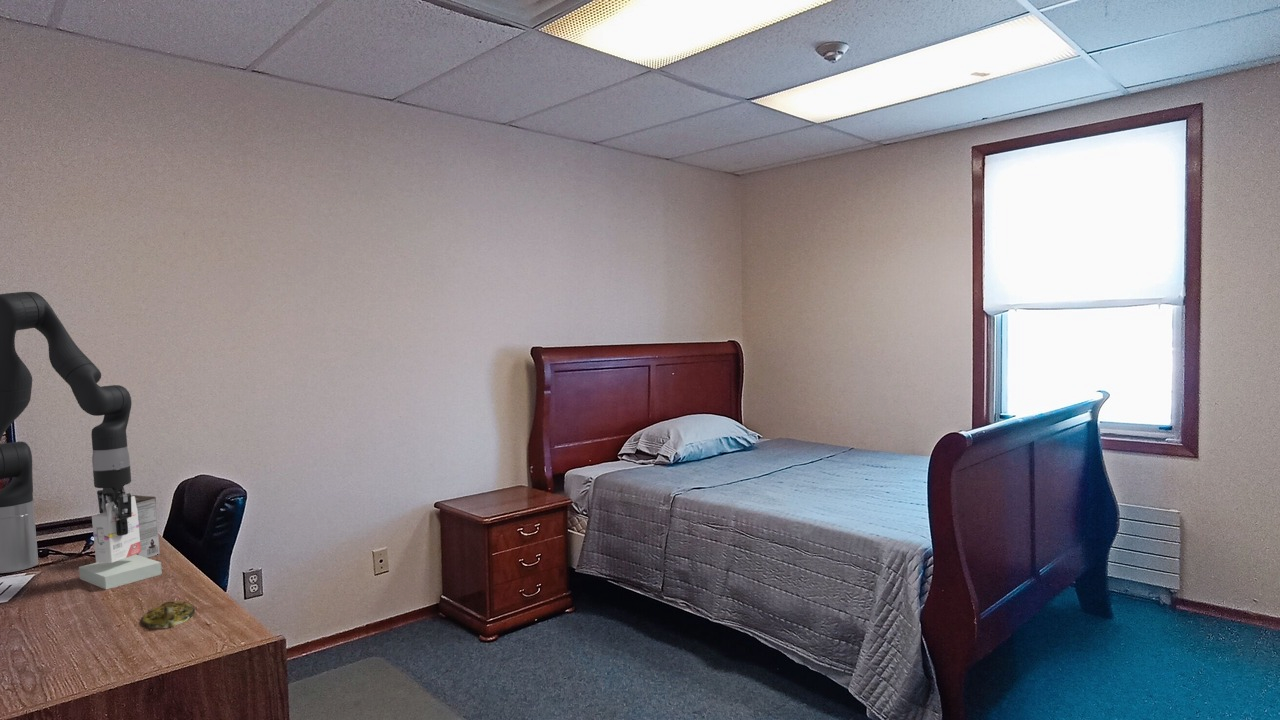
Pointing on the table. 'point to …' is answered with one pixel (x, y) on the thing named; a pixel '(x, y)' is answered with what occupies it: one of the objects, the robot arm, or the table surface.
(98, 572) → the plinth
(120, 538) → the ink cartridge box
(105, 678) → the table surface
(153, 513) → the coffee box
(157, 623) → the olive green oval lump
